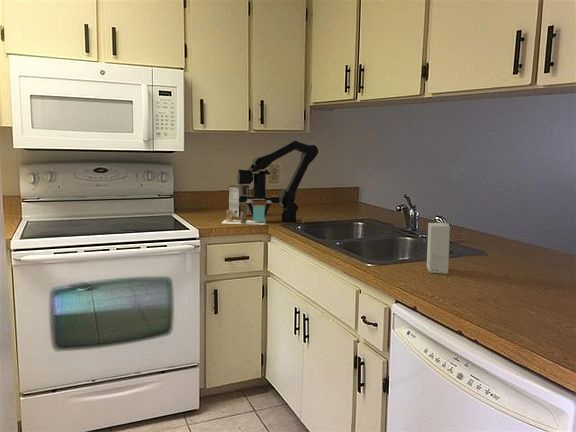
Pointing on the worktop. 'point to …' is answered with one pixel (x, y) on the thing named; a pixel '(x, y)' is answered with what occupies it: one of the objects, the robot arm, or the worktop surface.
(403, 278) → the worktop surface
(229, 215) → the oak post
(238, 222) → the board
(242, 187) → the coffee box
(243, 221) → the walnut dowel
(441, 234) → the skincare box
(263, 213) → the light blue block
